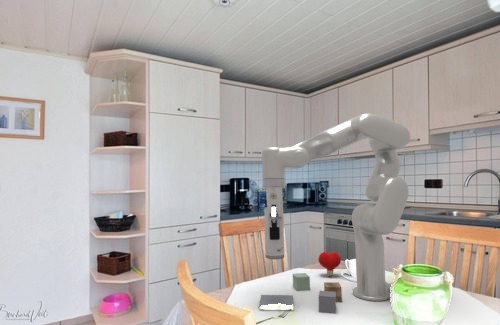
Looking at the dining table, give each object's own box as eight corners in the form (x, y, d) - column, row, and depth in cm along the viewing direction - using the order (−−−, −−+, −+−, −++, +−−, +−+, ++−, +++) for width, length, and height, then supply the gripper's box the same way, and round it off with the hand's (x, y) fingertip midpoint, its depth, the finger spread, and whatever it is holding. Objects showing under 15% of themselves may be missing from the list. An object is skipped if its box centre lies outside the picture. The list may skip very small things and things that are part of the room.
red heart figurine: (320, 278, 132) (319, 254, 132) (317, 274, 138) (316, 250, 139) (343, 278, 131) (342, 253, 132) (339, 273, 138) (338, 250, 139)
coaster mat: (292, 298, 110) (292, 295, 110) (294, 310, 99) (294, 307, 99) (261, 297, 111) (261, 294, 111) (258, 310, 100) (258, 307, 100)
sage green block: (305, 286, 123) (305, 272, 123) (309, 290, 118) (309, 276, 118) (293, 287, 122) (292, 273, 123) (297, 291, 117) (296, 277, 118)
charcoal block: (336, 307, 101) (335, 291, 102) (335, 314, 97) (335, 297, 97) (320, 306, 103) (319, 290, 103) (319, 312, 98) (318, 295, 98)
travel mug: (284, 259, 102) (282, 197, 104) (264, 259, 104) (262, 197, 105) (286, 255, 109) (284, 196, 110) (267, 255, 110) (265, 196, 111)
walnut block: (339, 297, 111) (338, 282, 111) (341, 302, 106) (341, 287, 106) (324, 297, 111) (324, 282, 111) (326, 302, 106) (326, 287, 106)
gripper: (285, 183, 99) (286, 242, 98) (284, 183, 116) (286, 233, 115) (260, 184, 100) (262, 242, 98) (264, 184, 117) (265, 233, 116)
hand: (275, 237), depth 107 cm, fingers closed on travel mug, 6 cm apart
